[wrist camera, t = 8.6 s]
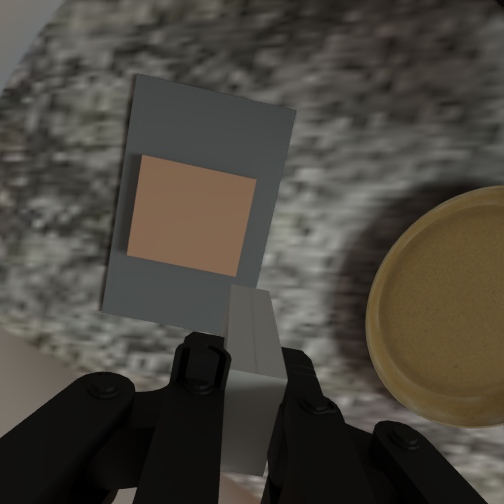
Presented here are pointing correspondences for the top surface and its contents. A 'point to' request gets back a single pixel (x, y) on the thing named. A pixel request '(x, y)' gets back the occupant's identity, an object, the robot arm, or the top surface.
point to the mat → (207, 156)
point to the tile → (190, 215)
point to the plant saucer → (444, 313)
